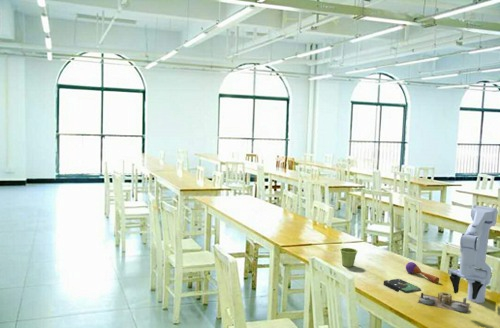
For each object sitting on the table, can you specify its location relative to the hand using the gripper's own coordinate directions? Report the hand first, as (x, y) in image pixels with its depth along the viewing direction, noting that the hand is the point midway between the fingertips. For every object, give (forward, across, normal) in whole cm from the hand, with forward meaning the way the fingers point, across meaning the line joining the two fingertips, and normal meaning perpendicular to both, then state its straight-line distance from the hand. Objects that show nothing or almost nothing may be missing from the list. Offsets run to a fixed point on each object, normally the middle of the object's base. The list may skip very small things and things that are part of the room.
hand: (464, 295), depth 193 cm
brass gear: (+8, -13, +8) cm, 17 cm away
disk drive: (+10, -34, +8) cm, 37 cm away
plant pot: (+10, -72, +14) cm, 74 cm away
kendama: (+10, -39, +33) cm, 52 cm away
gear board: (+10, -12, +5) cm, 16 cm away
